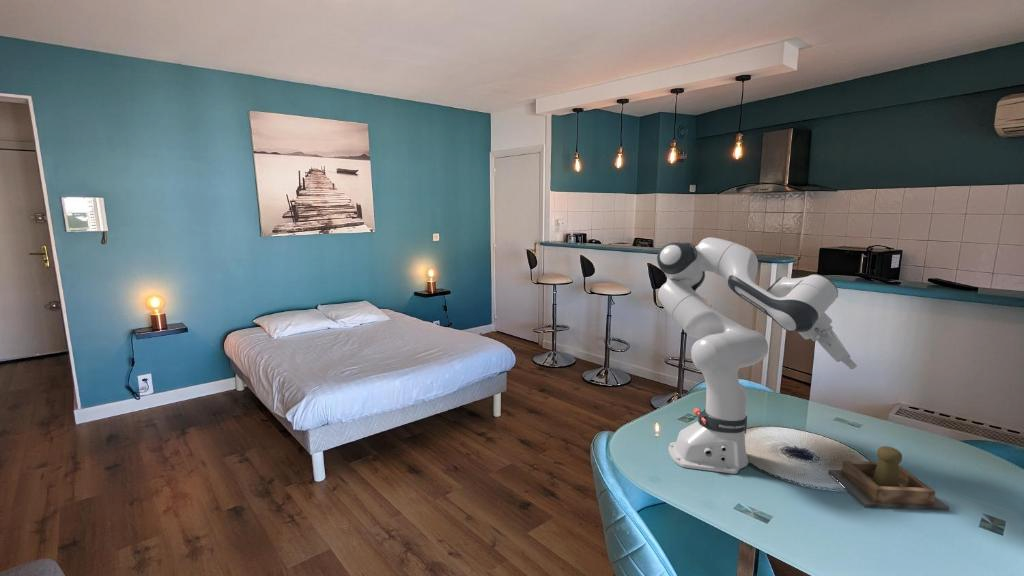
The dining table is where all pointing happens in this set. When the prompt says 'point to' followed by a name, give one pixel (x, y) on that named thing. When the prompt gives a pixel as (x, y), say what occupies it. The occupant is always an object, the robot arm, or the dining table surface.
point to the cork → (887, 467)
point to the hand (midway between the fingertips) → (850, 362)
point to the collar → (886, 488)
